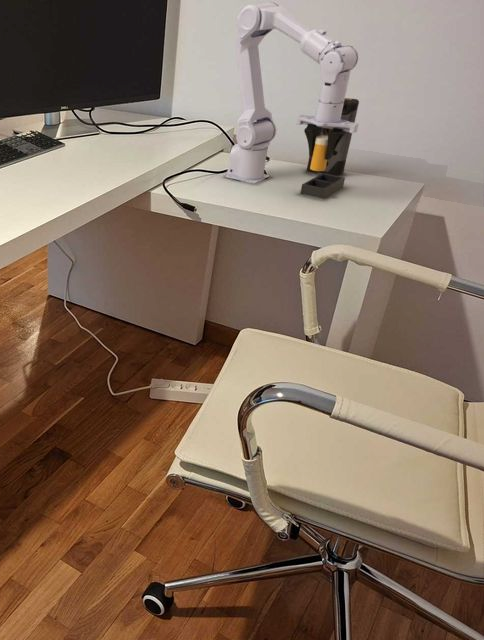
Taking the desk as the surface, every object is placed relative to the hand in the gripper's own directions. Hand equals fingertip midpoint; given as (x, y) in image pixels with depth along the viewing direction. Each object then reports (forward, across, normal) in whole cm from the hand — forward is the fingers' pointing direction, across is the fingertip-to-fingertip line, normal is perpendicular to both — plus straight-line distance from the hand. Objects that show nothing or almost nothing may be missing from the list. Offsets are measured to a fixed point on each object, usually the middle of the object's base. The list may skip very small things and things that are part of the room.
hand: (319, 157), depth 168 cm
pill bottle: (+3, 0, 0) cm, 3 cm away
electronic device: (+10, -6, +19) cm, 23 cm away
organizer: (+10, 0, +5) cm, 11 cm away
